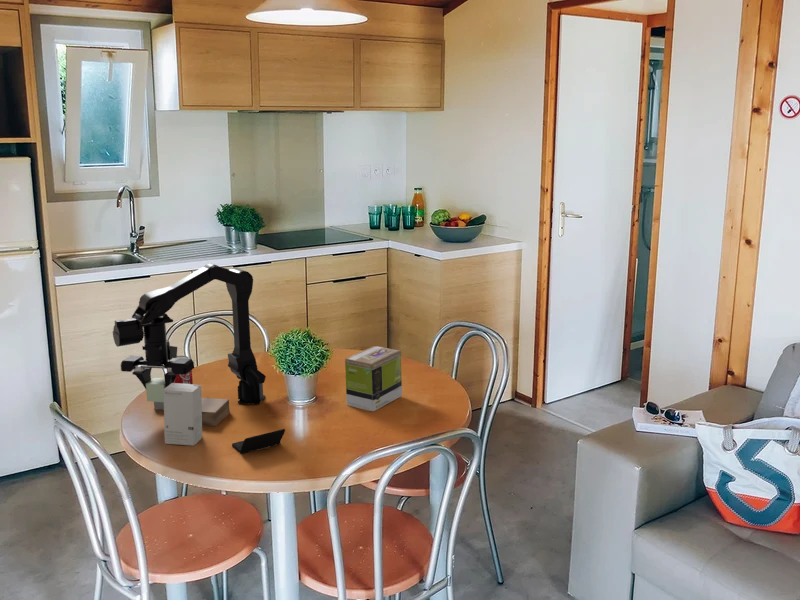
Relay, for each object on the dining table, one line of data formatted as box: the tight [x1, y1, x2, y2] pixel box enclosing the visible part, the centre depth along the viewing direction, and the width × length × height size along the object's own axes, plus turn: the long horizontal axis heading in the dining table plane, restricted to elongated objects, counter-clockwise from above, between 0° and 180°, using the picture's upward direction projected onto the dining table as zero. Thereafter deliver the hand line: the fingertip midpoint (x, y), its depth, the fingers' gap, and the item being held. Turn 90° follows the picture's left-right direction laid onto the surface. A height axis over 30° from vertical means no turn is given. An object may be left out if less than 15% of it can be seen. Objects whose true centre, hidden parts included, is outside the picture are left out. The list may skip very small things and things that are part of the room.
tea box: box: [344, 345, 403, 412], centre depth 224 cm, size 15×10×15 cm
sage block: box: [145, 377, 166, 403], centre depth 209 cm, size 5×5×5 cm
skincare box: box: [163, 383, 203, 446], centre depth 197 cm, size 8×6×15 cm
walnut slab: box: [201, 397, 231, 427], centre depth 213 cm, size 10×10×4 cm
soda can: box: [166, 355, 194, 385], centre depth 228 cm, size 7×7×12 cm
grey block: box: [153, 402, 164, 411], centre depth 222 cm, size 5×5×5 cm
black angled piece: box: [231, 428, 286, 455], centre depth 194 cm, size 12×7×10 cm
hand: (159, 394), depth 209 cm, fingers closed on sage block, 5 cm apart
